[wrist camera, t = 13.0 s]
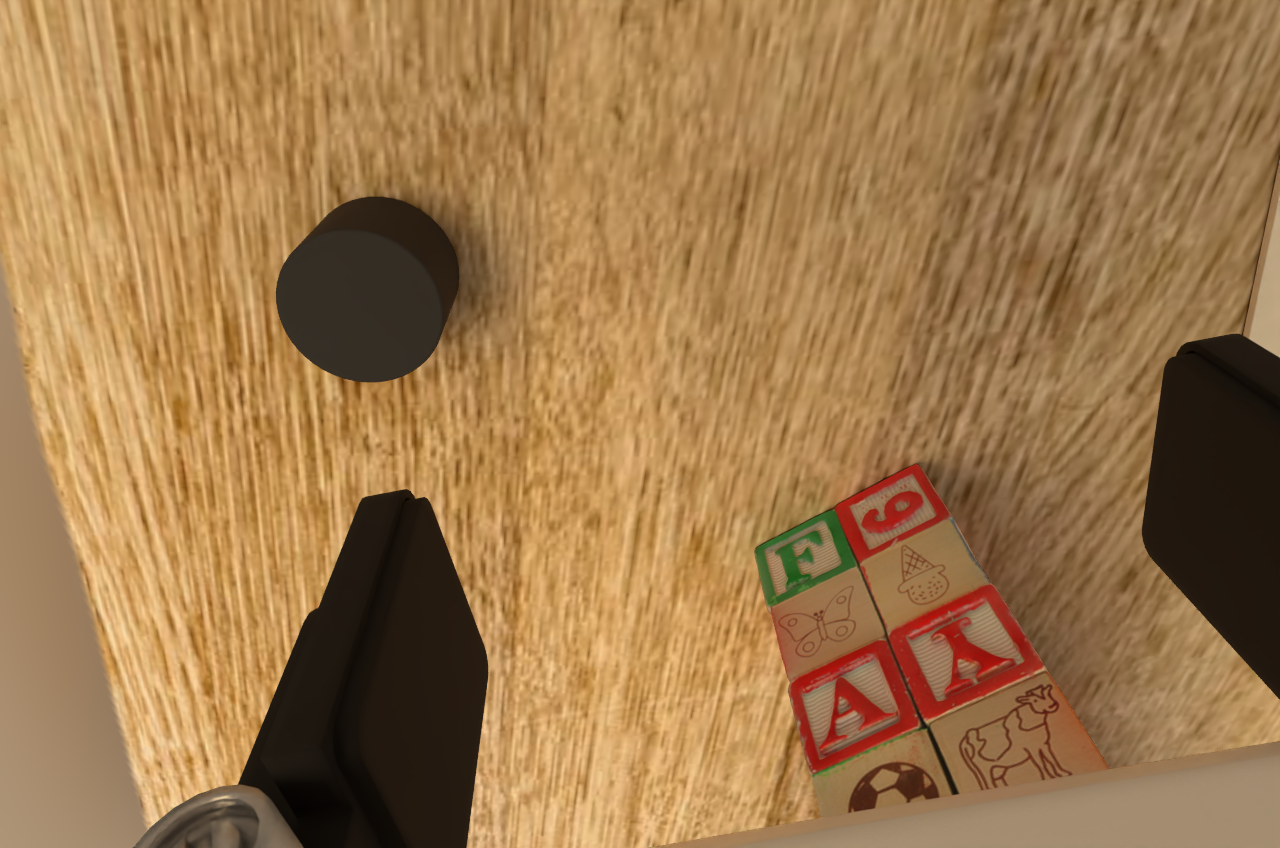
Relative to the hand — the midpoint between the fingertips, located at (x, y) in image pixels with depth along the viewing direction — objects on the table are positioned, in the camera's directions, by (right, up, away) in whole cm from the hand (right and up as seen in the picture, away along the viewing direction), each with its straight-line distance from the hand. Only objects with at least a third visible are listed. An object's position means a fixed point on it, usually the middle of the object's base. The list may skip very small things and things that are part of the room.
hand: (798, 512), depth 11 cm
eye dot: (-9, +5, +13) cm, 16 cm away
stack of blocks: (+10, -9, +22) cm, 26 cm away
